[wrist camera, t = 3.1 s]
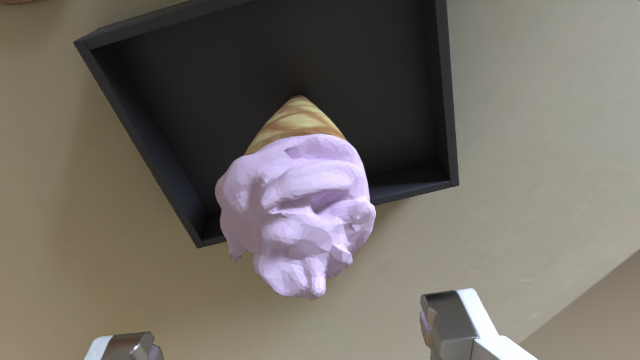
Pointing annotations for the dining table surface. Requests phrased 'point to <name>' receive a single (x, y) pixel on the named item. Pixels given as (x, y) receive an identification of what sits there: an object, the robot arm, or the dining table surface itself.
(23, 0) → the coaster
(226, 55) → the tray
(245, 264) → the dining table surface
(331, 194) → the ice cream cone
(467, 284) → the dining table surface
